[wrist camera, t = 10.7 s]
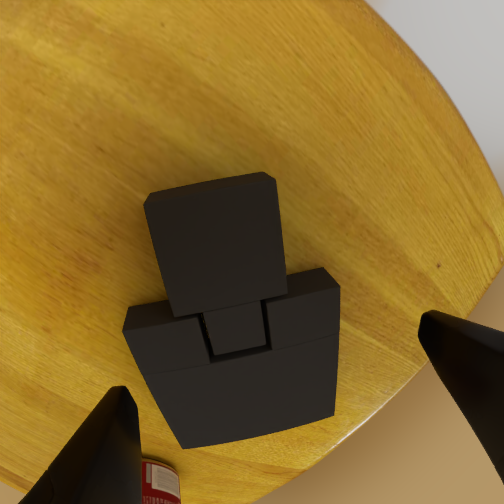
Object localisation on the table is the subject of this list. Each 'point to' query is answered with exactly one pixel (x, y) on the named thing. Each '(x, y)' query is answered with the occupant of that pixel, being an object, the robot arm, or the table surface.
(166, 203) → the dark grey tabbed block
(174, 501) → the soda can
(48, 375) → the table surface
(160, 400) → the large pad
